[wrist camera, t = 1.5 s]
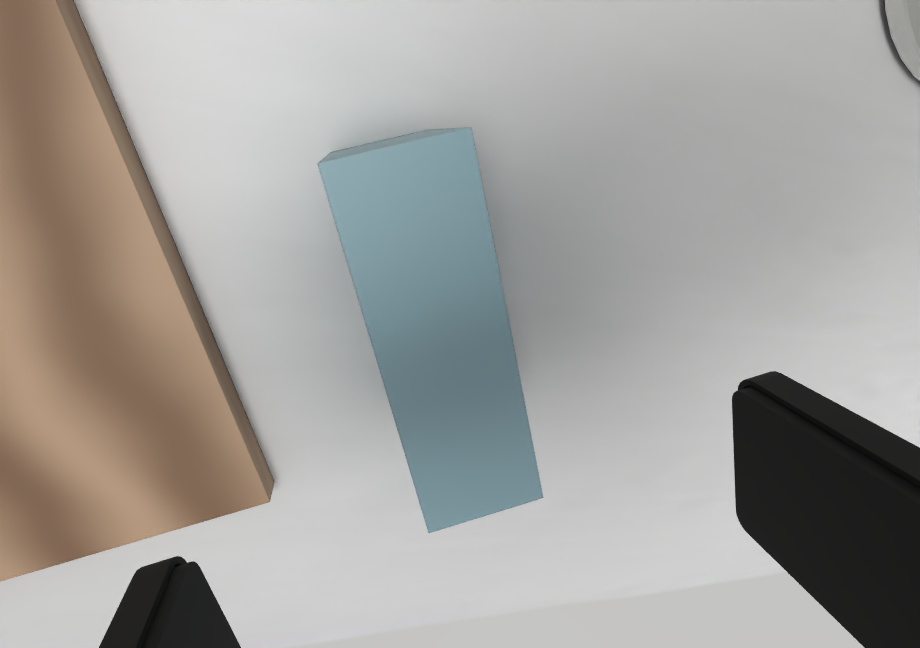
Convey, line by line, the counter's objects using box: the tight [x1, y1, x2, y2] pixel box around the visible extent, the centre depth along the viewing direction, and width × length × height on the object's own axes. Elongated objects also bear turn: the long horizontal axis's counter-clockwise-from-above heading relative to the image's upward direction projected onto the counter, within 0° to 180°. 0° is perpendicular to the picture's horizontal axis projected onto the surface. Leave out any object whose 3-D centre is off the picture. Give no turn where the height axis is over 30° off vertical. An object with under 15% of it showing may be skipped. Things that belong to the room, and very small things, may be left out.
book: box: [318, 127, 543, 533], centre depth 20 cm, size 4×12×9 cm, turn 12°
